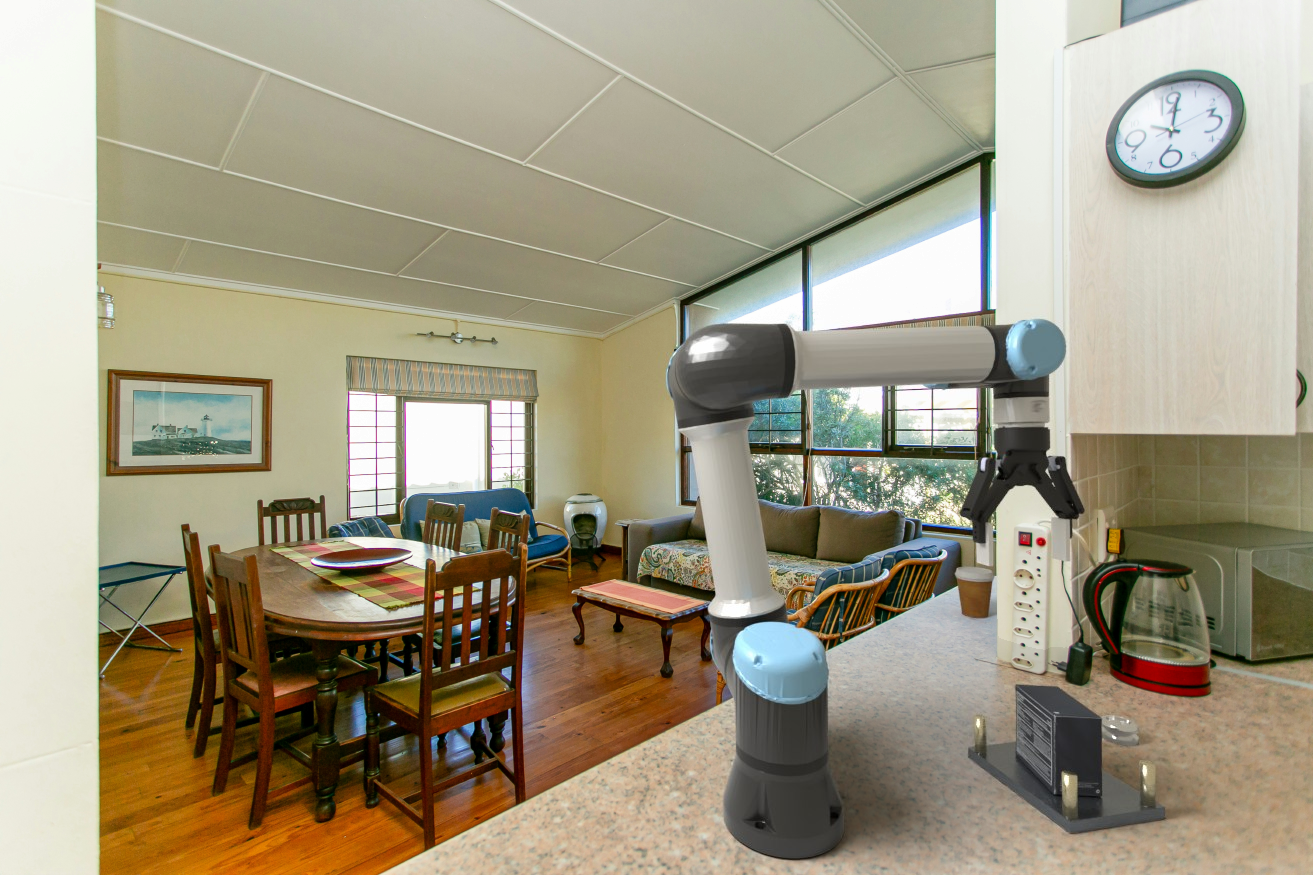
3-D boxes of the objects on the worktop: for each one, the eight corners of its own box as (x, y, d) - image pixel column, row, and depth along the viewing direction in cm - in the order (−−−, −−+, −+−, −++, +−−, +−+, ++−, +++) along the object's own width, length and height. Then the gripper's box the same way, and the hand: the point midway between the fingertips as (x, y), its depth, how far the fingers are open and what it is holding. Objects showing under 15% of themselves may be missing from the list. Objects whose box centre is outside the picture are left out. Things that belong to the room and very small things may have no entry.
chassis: (1070, 833, 74) (1069, 780, 74) (968, 757, 91) (967, 714, 91) (1165, 818, 76) (1164, 767, 76) (1048, 746, 94) (1047, 705, 94)
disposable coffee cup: (1002, 616, 161) (1002, 571, 161) (981, 622, 156) (980, 575, 156) (968, 607, 169) (968, 564, 169) (947, 613, 164) (946, 569, 164)
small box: (1107, 798, 78) (1106, 717, 78) (1054, 796, 79) (1052, 716, 79) (1060, 755, 89) (1059, 683, 89) (1013, 753, 89) (1012, 682, 89)
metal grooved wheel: (1094, 737, 97) (1131, 750, 93) (1093, 718, 97) (1131, 730, 93) (1106, 728, 100) (1143, 740, 95) (1106, 710, 100) (1143, 721, 95)
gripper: (966, 426, 88) (969, 571, 88) (1111, 424, 93) (1113, 562, 93) (934, 427, 96) (936, 561, 96) (1069, 425, 100) (1071, 553, 100)
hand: (1023, 562), depth 94 cm, fingers open, 13 cm apart
